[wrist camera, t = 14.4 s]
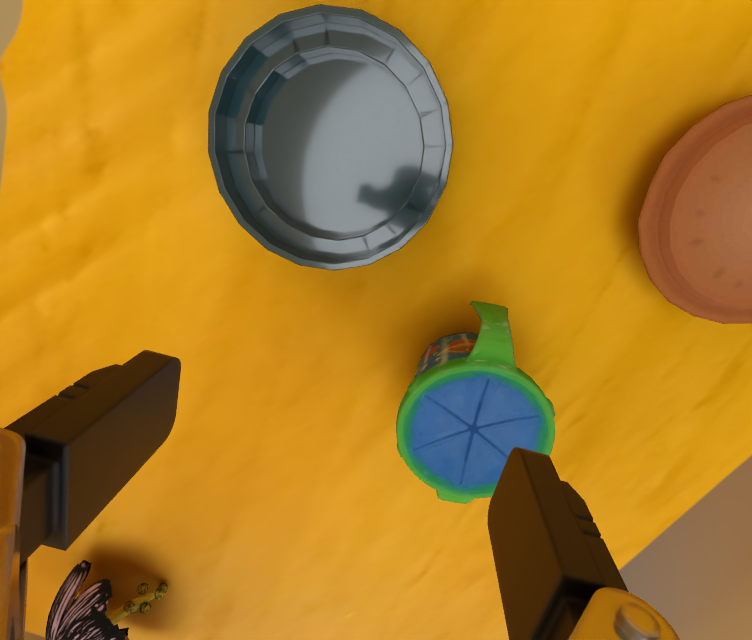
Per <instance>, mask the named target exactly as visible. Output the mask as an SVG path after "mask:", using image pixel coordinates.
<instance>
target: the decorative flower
mask: <svg viewBox="0 0 752 640" xmlns="http://www.w3.org/2000/svg"><path fill="white" fill-rule="evenodd" d="M91 564H92V563H89V562H88V561H85V560H83V561H82V562H81V563H80V564H79V565H78V564H77V565H76V566H75V567H74V568H73V570H72V571H71V572H70V574H69V575H68V577H67V578H66V580H65V581H64V583H63V584H62V586H61V587H60V589H59V591H58V593H57V595H56V597H55V600H54V602H53V604H52V607H51V610H50V613H49V616H48V621H47V627H46V640H129V639H128V637H127V636H128V629H129V628H123V629H119V628H118V624H116V623H117V622H118V621H120V620H121V619H123V618H124V617H125V616H127V615H128V614H130V613H136V612H137V610H138V608H139V607H140V612H141V613H142V614H146V613H147V612H149V611H150V608H151V606H150V603H148V602H149V601H151V600H152V599H153V598H155V599H157V600H160V599H162V598H163V597H164V594H165V593H166V591H167V587H168V586H167V585H166V584H164V583H163V584H160V585H159V586H158V588H157V590H156V591H155V592H151V593H149V594H146V595H143V596H140V597H138V598H135V599H133V600H131V601H129V602H127V603H125V605H123V606H122V607H120V608H118V609H117V610H115V611H114V612H112V613H110V614H109V615H107V616H105V611H106V610H107V608H106V606H107V604H108V601H109V599H110V598H112V591H111V584H110V580H108V579H103V580H101V581H98V582H96V583H95V584H93V585H91V586H90V587H89V588H88V589H86V590H85V591H84V592H82V593H81V594H80V595H79V596H78V597H77V598H76V599H75V597H76V595H77V594H78V592H79V590H80V587H81V586H82V584H83V583H84V581H85V579H86V577H87V575H88V573H89V571H90V568H91ZM147 590H148V584H145V583H142V584H141V585H139V586H138V589H137V591H138V593H139V594H144V593H146V592H147ZM114 624H116V625H114Z"/></svg>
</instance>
